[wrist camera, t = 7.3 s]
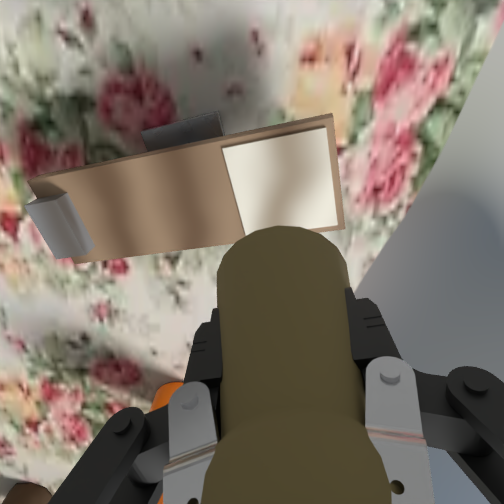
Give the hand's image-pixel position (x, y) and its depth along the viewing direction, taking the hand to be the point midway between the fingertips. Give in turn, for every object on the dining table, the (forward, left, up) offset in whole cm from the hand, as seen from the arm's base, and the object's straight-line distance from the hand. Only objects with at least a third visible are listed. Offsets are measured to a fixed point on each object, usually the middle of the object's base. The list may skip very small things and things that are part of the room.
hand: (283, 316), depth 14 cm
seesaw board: (-1, -7, -16) cm, 17 cm away
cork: (0, 0, -2) cm, 2 cm away
